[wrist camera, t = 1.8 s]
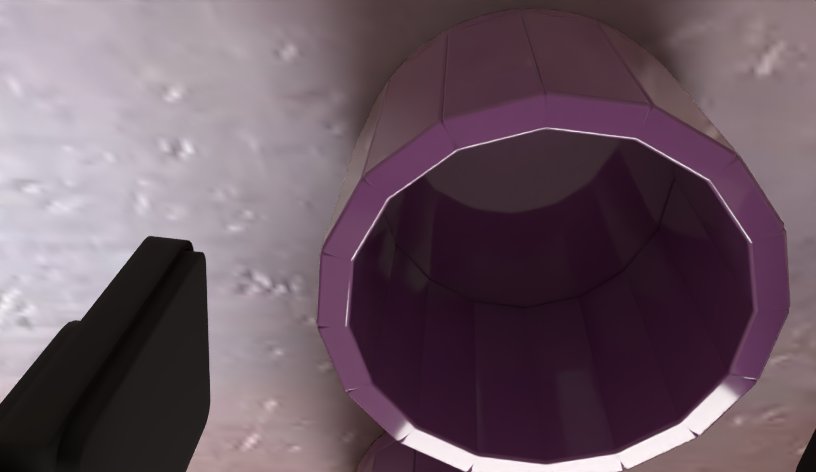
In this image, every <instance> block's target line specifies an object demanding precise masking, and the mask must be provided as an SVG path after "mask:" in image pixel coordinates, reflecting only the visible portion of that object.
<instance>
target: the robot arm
mask: <svg viewBox="0 0 816 472" xmlns="http://www.w3.org/2000/svg"><path fill="white" fill-rule="evenodd" d="M209 409H210V374H209V342H208V311H207V280H206V259H205V255H204V253H203V252H195V251H194V250H193V246H192V243H191V242H190V241H188V240H180V239H171V238H163V237H154V236H148V237H147V238H146V239H145V240H144V241H143V242H142V244H141V245H140V246H139V247H138V249H137V250H136V251H135V252H134V254H133V255H132V256H131V257H130V259H129V260H128V261H127V263H126V264H125V265H124V266H123V268H122V269H121V270H120V271H119V273H118V274H117V275H116V277H115V278H114V279H113V280H112V282H111V283H110V284H109V285H108V287H107V288H106V289H105V290H104V292H103V293H102V294H101V296H100V297H99V298H98V299H97V301H96V302H95V303H94V304H93V306H92V307H91V308H90V310H89V311H88V312H87V313H86V315H85V316H84V317H83V318H82V320H81V321H77V320H75V321H72V322H68V323H67V324H66V325H65V326H64V327H63V328H62V329H61V330H60V331H59V333H58V334H57V335H56V336H55V337H54V339H53V340H52V341H51V342H50V344H49V345H48V346H47V347H46V348H45V350H44V351H43V352H42V353H41V355H40V356H39V357H38V358H37V360H36V361H35V362H34V363H33V364H32V366H31V367H30V368H29V369H28V371H27V372H26V373H25V374H24V375H23V377H22V378H21V379H20V380H19V382H18V383H17V384H16V385H15V387H14V388H13V389H12V390H11V391H10V393H9V394H8V395H7V396H6V398H5V399H4V400H3V401H2V402H1V404H0V472H186V470H187V468H188V465H189V463H190V460H191V458H192V456H193V453H194V451H195V449H196V446H197V444H198V442H199V439H200V437H201V435H202V432H203V430H204V428H205V425H206V422H207V419H208V414H209ZM796 472H816V429H815V431H814V433H813V435H812V437H811V439H810V441H809V443H808V445H807V447H806V449H805V451H804V453H803V456H802V458H801V460H800V462H799V464H798V466H797V469H796Z"/></svg>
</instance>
